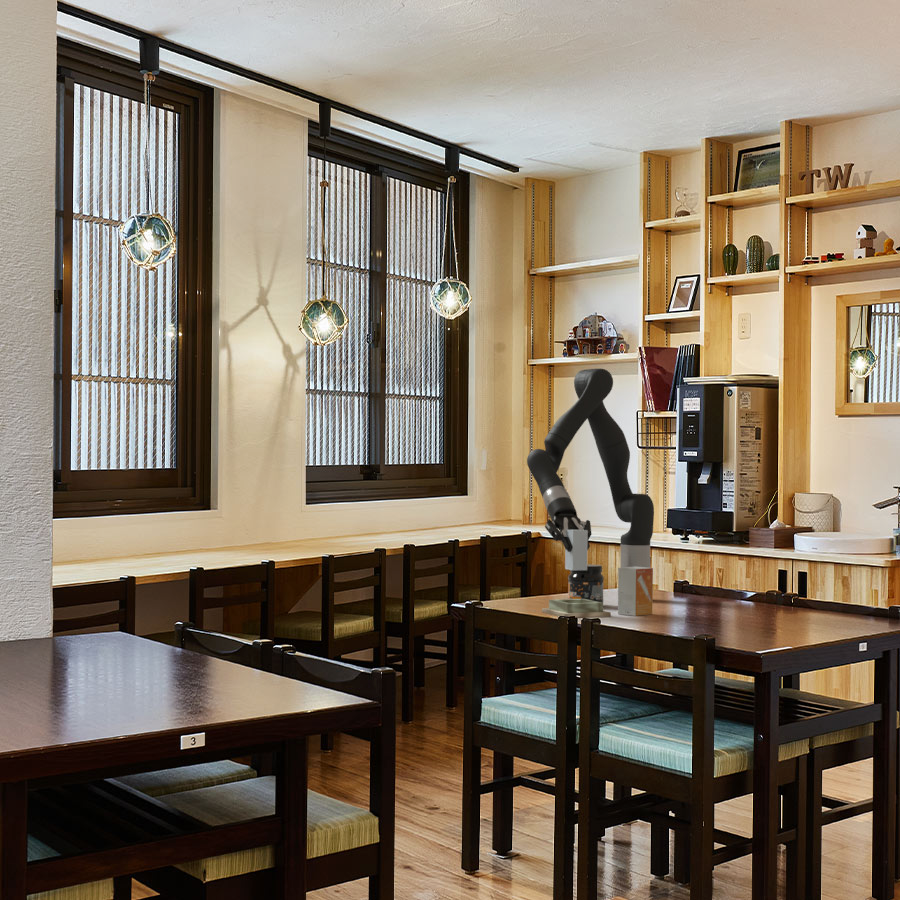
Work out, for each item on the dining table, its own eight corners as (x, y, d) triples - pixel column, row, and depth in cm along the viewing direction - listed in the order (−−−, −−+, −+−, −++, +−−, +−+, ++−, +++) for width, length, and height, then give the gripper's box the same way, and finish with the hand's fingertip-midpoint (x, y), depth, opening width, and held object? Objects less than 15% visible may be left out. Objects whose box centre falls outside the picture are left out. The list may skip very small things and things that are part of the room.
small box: (635, 616, 299) (636, 568, 299) (617, 614, 304) (617, 567, 304) (653, 614, 305) (653, 567, 305) (634, 612, 309) (635, 566, 310)
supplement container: (561, 604, 327) (561, 564, 327) (591, 603, 331) (592, 563, 332) (579, 608, 317) (579, 566, 318) (610, 607, 322) (610, 566, 322)
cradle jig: (585, 610, 312) (585, 598, 312) (610, 616, 299) (610, 603, 299) (541, 611, 307) (541, 599, 307) (565, 617, 294) (565, 604, 294)
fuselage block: (579, 568, 306) (579, 529, 306) (587, 570, 302) (587, 530, 302) (565, 569, 304) (565, 529, 305) (572, 570, 300) (573, 530, 301)
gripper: (541, 495, 309) (560, 540, 297) (585, 496, 314) (606, 540, 302) (532, 514, 313) (551, 559, 302) (576, 514, 319) (596, 558, 307)
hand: (578, 549), depth 302 cm, fingers closed on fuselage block, 4 cm apart
